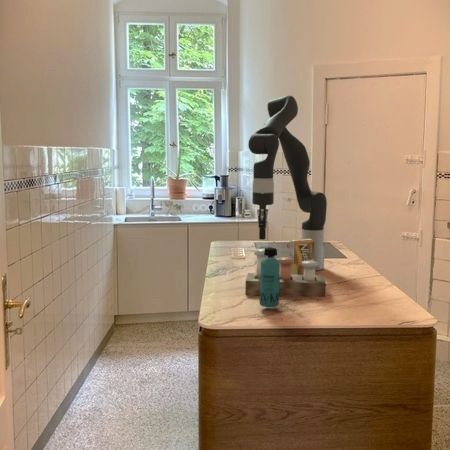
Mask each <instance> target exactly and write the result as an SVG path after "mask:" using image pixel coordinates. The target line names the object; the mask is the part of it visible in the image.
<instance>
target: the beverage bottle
mask: <svg viewBox="0 0 450 450" xmlns="http://www.w3.org/2000/svg"><path fill="white" fill-rule="evenodd" d="M264 255H266V256H275V258H264V259H263V260H262V261H261V273H260V289H259V290H260V295H259V298H258V299H259V301H258V303H259V306H261V307H263V308H278V307H279V305H280V296H279V290H280V289H279V286H280V262H279V261H278V258H276V256H277V255H278V249H277V248H275V247H273V248H265V251H264Z"/></svg>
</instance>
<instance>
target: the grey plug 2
mask: <svg viewBox="0 0 450 450" xmlns="http://www.w3.org/2000/svg"><path fill="white" fill-rule="evenodd" d="M317 266H318V262H316V261H302V267H304V280H313V281H315V275H316V270H315V268H316V267H317Z"/></svg>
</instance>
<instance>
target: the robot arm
mask: <svg viewBox="0 0 450 450" xmlns="http://www.w3.org/2000/svg"><path fill="white" fill-rule="evenodd" d="M298 111H299V107H298V103H297V100H296V98H295V97H294V96H292V95H285V96H281V97H278V98H277V97H276V98H274V99H271V100H269V101H268V102H267V112H268V116H269V119H267V120H266V121H265V123H264V124H263V126H262V127H261V128H259V129H258V130H256V131H255V132H253V134H252V135H250V137H249V140H248V144H247V145H248V146H247V147H248V150H249V151H250V152H251V153H252V154H254V155H266V158H265V159H262V160H258V161H255V162H254V164H253V175H252V176H253V179H252V181H253V182H252V201H251V202H252V204H253V205H256V206H259V208H257V210H256V215H257V223H258V226H257V227H258V229H259V230H258V231H259V235H258V239H259V240H260V241H261V240H266V234H267V233H266V230H267V223H268V218H269V217H268V215H269V209H268V208H267V206H272V205H273V204H274V197H275V196H274V195H275V192H274V191H275V190H274V189H275V188H274V187H275V185H274V184H275V183H274V169H275V168H274V167H275V162H276V156H277V154H278V150H279V146H281V149H282V152H283V156H284V159H285V162H286V166H287V167H288V170H289V173H290V176H291V180H292V182H293V187H294V191H295V197H296V201H297V204H298V206H299V209H300V210H301V211H302V212H304V213H307V214H309V218H308V219H307V220H305V221H302V223H301V239H312V240H314V261H316V262H318V266H317V267H316V268H315V271H321V270H323V269H325V249H326V248H325V246H324V227H325V224H326V218H327V206H328V203H327V197H326V195H325V194H324V193H323V192H320V191H312V190H311V188H310V185H309V181H308V176H309V175H308V174H309V171H310V163H311V162H310V161H311V160H310V157H309V154H308V151H307V148H306V146H305V145H304V144H303V142H302V141H300V140H299V139H298V138H297V137H296V136H294V135H293V134H292V133H291V132H290V131H289V130H288V129H287V126H288V125H289V124H290V123H291V122H292V121H293V120H294V119H295V118H296V117H297V116H298V113H299V112H298Z"/></svg>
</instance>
